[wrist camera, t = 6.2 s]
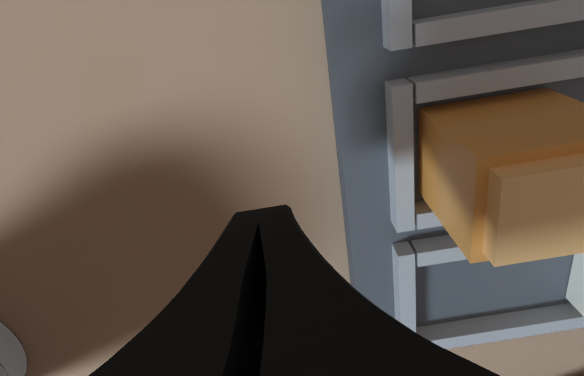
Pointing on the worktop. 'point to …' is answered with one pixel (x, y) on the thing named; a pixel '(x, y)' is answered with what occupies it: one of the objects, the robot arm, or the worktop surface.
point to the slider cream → (576, 283)
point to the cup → (11, 354)
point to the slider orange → (506, 174)
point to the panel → (405, 154)
